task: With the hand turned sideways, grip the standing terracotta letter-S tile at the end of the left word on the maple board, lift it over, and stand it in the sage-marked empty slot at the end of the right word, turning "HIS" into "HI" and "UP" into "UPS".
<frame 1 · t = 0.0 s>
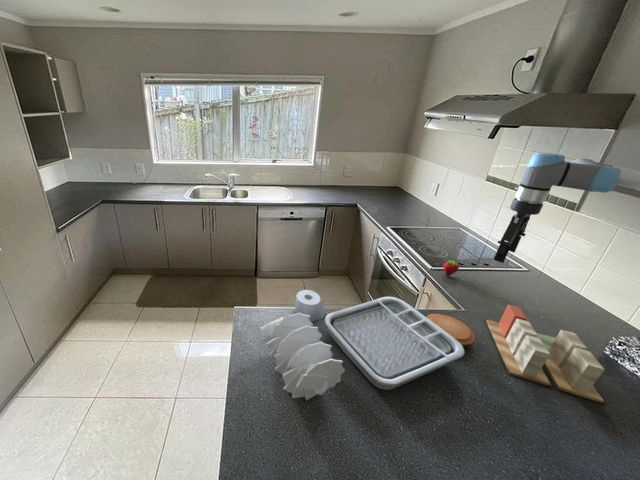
hand: (504, 255, 102), 30 cm above the worktop, tool pointing down, fingers open, 13 cm apart
dish rack: (385, 348, 98), on the worktop
left word: (513, 349, 99), on the worktop
strawberry: (447, 276, 143), on the worktop
letter s: (506, 332, 106), point 1 cm above the worktop, touching left word
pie: (446, 335, 105), on the worktop
toilet tissue: (309, 314, 113), on the worktop
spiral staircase: (297, 372, 88), on the worktop
right word: (557, 362, 95), on the worktop
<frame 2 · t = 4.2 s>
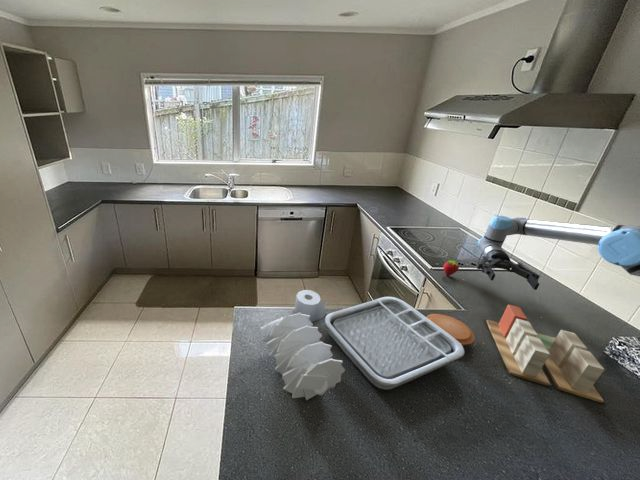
hand: (514, 282, 108), 17 cm above the worktop, tool horizontal, fingers open, 13 cm apart
nothing on the worktop moved.
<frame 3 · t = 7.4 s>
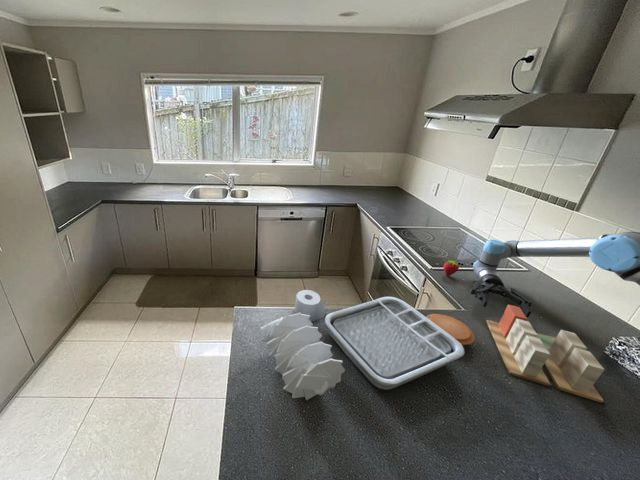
hand: (506, 309, 109), 7 cm above the worktop, tool horizontal, fingers open, 13 cm apart
nothing on the worktop moved.
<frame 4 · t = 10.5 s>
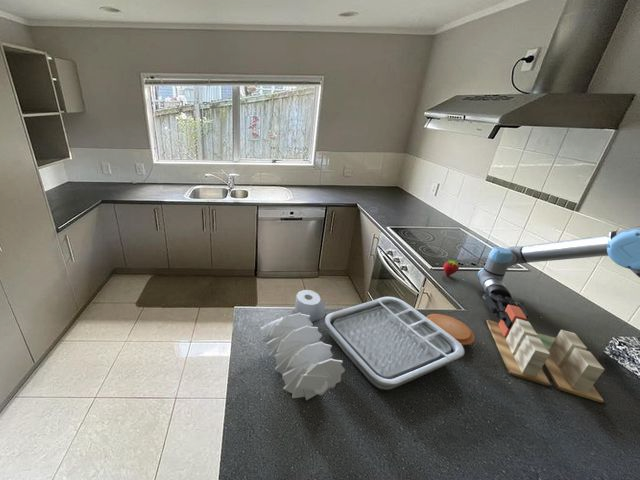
hand: (517, 327, 100), 7 cm above the worktop, tool horizontal, fingers closed on letter s, 3 cm apart
letter s: (506, 332, 106), point 1 cm above the worktop, touching gripper, left word
everything else where it was.
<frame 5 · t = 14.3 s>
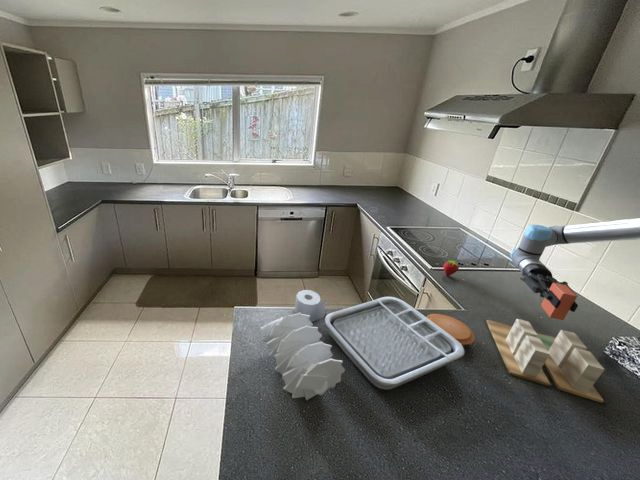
hand: (566, 306, 92), 20 cm above the worktop, tool horizontal, fingers closed on letter s, 3 cm apart
letter s: (551, 312, 98), point 14 cm above the worktop, touching gripper
everything else where it was.
when the fingers open (7 cm above the worktop, at t = 18.4 s): letter s stays where it is, resting on right word.
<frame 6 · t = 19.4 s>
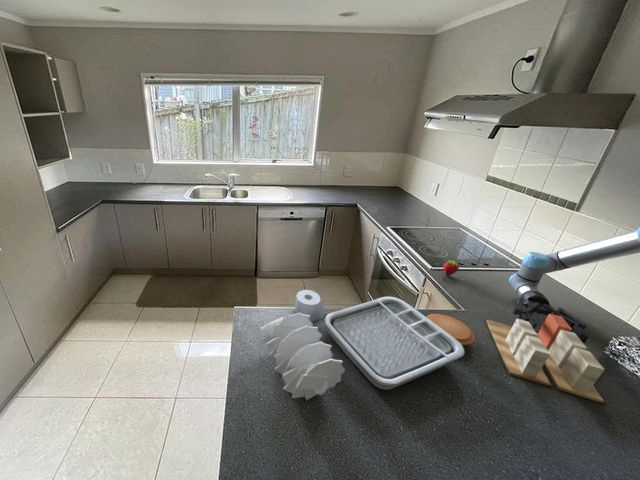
hand: (558, 333, 97), 8 cm above the worktop, tool horizontal, fingers open, 13 cm apart
letter s: (547, 342, 101), point 1 cm above the worktop, touching right word
everything else where it was.
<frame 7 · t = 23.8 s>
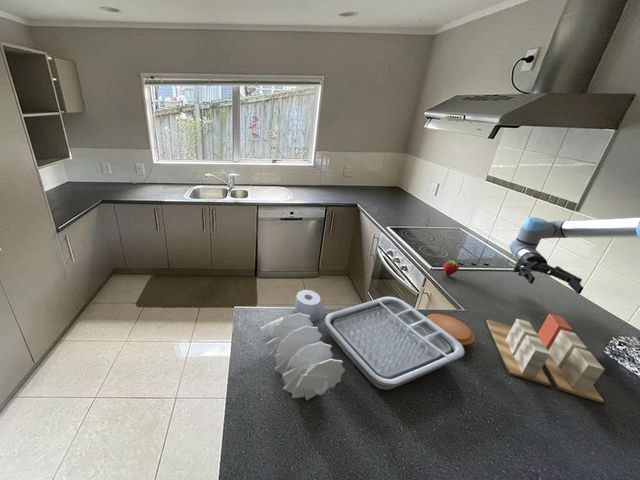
hand: (556, 285, 103), 19 cm above the worktop, tool horizontal, fingers open, 13 cm apart
nothing on the worktop moved.
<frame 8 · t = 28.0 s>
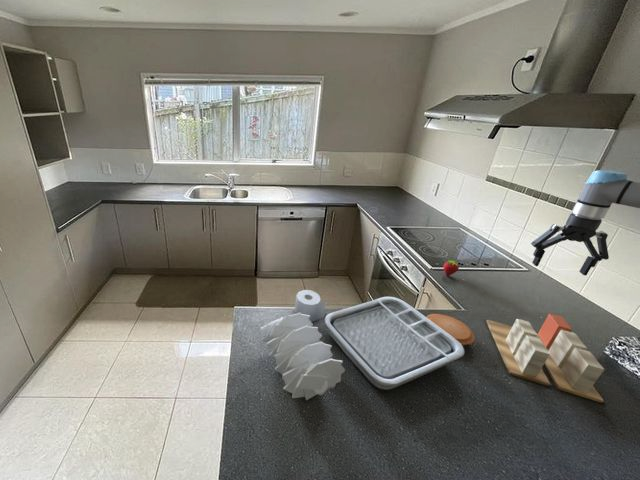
hand: (558, 269, 104), 25 cm above the worktop, tool pointing down, fingers open, 13 cm apart
nothing on the worktop moved.
at the end: letter s 0.2 cm from the target spot on the right word, point 1.2 cm above the right word's base; letter s tilted 0°; the gripper is holding nothing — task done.
